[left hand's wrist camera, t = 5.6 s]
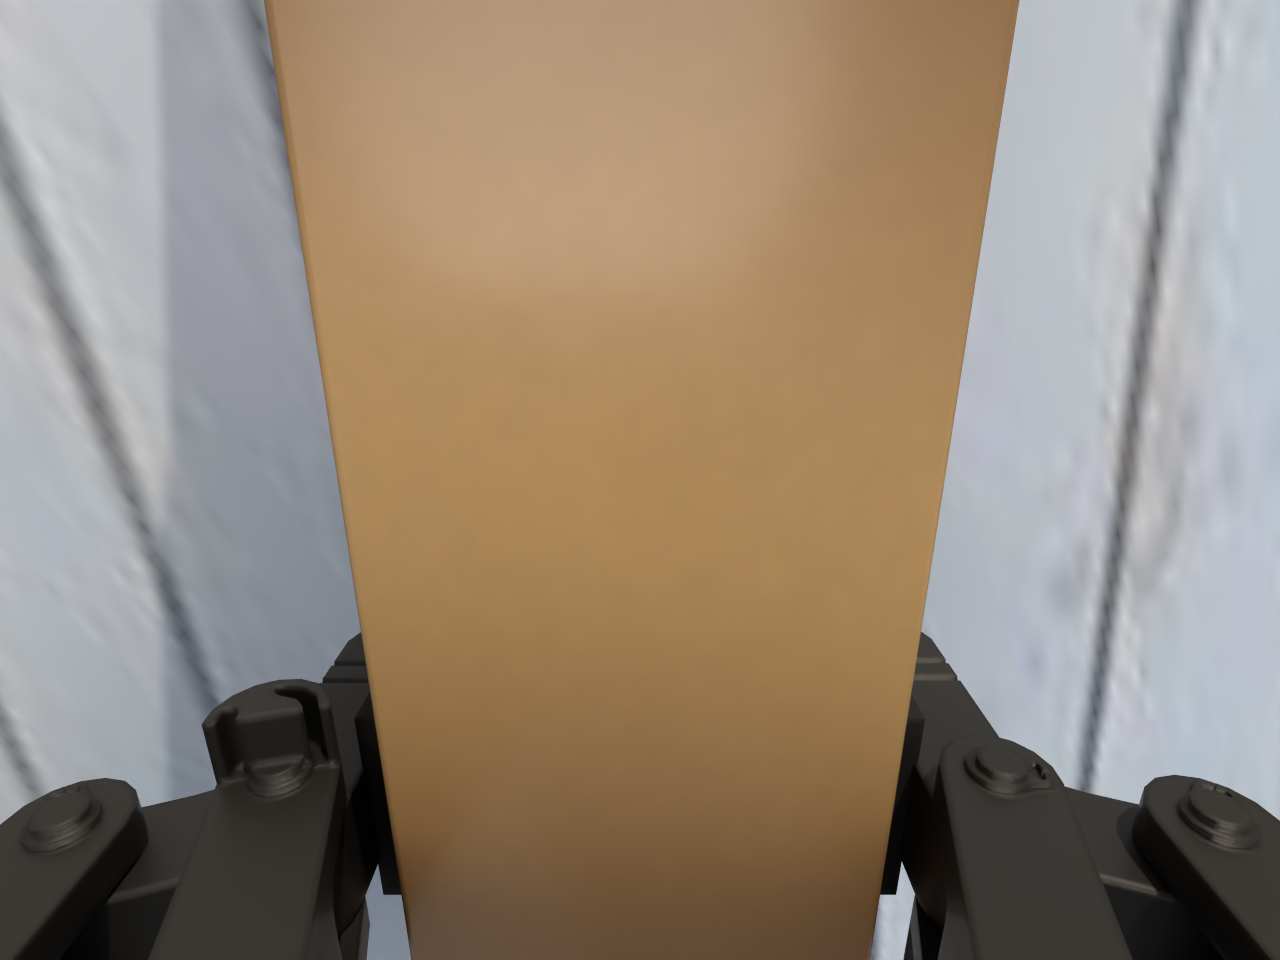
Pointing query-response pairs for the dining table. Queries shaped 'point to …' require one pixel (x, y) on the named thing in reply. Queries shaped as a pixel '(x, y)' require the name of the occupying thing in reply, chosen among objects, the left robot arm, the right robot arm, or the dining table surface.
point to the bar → (641, 440)
